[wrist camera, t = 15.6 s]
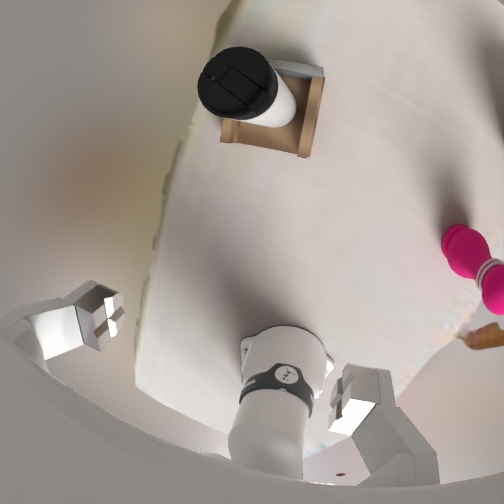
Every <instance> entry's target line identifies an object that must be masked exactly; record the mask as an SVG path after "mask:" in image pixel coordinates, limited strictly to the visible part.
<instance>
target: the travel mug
mask: <svg viewBox="0 0 504 504" xmlns="http://www.w3.org/2000/svg"><path fill="white" fill-rule="evenodd" d="M198 95H199V98H200V100H201V102H202V104H203V105H204V107H205V108H206V109H207V110H208V111H210V112H211V113H213V114H214V115H217V116H220V117H224V118H229V119H232V120H237V121H242V122H247V123H252V124H257V125H262V126H266V127H271V128H279V127H283V126H285V125H287V124H289V123H290V122H291V121H292V120H293V118H294V117H295V115H296V112H297V102H296V99H295V97H294V95H293V94H292V93H291V91H290V90H289V88H288V87H287V86H286V84H285V83H284V81H283V80H282V79H281V77H280V76H279V75H278V73H277V72H276V71H275V69H274V68H273V67H272V65H271V64H270V63H268V61H267V60H266V59H265V57H264V56H262V55H261V54H260V53H259V52H257V51H255V50H253V49H250V48H247V47H231V48H228V49H225V50H223V51H221V52H220V53H218V54H217V55H216V56H215V57H213V58H212V59H211V60H210V61H209V62H208V63H207V64H206V66H205V67H204V69H203V73H201V75H200V77H199V80H198Z"/></svg>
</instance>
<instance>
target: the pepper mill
mask: <svg viewBox="0 0 504 504" xmlns="http://www.w3.org/2000/svg"><path fill="white" fill-rule="evenodd" d="M442 251H443V254H444V256H445V257H446V258H447V259H448V263H449V265H450V267H451V269H452V270H453V271H454V272H455V273H456V274H458V275H460V276H462V277H464V278H470V279H474V280H475V281H476V287H477V289H478V291H479V292H480V293H481V294H482V299H483V303H484V304H485V306H486V307H487V309H488V310H489V311H491V312H492V313H494V314H497V315H504V263H503V262H502V261H501V260H499V259H497V258H492V257H491V255H490V251H489V247H488V244H487V242H486V240H485V239H484V237H483V236H482V235H481V234H480V233H479V232H478V231H476V230H473V229H469V228H467V227H466V226H464V225H454V226H452V227H451V228H449V229H448V230H447V231H446V233H445V235H444V236H443V239H442Z"/></svg>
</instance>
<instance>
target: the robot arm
mask: <svg viewBox="0 0 504 504" xmlns="http://www.w3.org/2000/svg"><path fill="white" fill-rule="evenodd" d="M123 303H124V301H123V295H122V294H121V293H119V292H116V291H114V290H112V289H109V288H108V287H106V286H103V285H101V284H98V283H96V282H94V281H92V280H91V281H87V282H86V283H84V284H83V285H81V286H80V287H79V288H77V289H76V290H74V291H73V292H72V293H70V294H69V295H68V296H66V297H65V298H64V299H62V298H56V299H52V300H47V301H42V302H37V303H32V304H27V305H23V306H17V307H13V308H11V309H9V310H8V311H6V312H5V313H4V314H2V315H1V316H0V504H504V472H501V473H497V474H493V475H489V476H484V477H480V478H475V479H469V480H464V481H458V482H451V483H444V484H440V478H439V469H438V460H437V453H436V452H435V450H434V449H433V448H432V447H431V445H430V444H429V443H428V442H427V440H426V439H425V438H424V437H423V435H422V434H421V433H420V432H419V430H418V429H417V428H416V427H415V426H414V424H413V423H412V422H411V421H410V419H409V418H408V417H407V416H406V415H405V413H404V412H403V411H402V410H401V408H400V407H396V405H395V398H394V391H393V385H392V379H391V373H390V371H389V370H385V369H379V368H372V367H366V366H361V365H356V364H351V363H348V364H347V365H346V366H345V368H344V369H343V377H342V378H340V379H338V380H337V382H336V384H335V386H334V388H333V391H332V395H331V402H330V405H331V407H332V408H333V410H332V412H331V413H330V415H329V427H328V431H333V432H339V433H345V434H351V437H352V439H353V440H354V442H355V444H356V446H357V448H358V450H359V452H360V454H361V456H362V458H363V460H364V462H365V464H366V466H367V468H368V470H369V472H370V474H371V476H369V477H368V478H367V479H365V480H364V481H362V482H361V483H360V484H358V485H357V486H347V485H336V484H327V483H318V482H311V481H305V480H303V451H304V444H305V437H306V430H307V424H308V419H309V418H310V416H311V414H312V409H313V406H314V400H315V398H318V397H319V395H320V393H322V391H323V387H324V381H325V377H326V376H327V375H328V374H329V373H330V372H331V371H332V369H333V367H334V362H333V360H332V359H331V358H329V357H328V356H327V355H326V353H325V350H324V348H323V345H322V344H321V342H320V341H319V340H318V339H317V338H316V337H315V336H314V335H313V334H311V333H309V332H308V331H306V330H303V329H300V328H297V327H292V326H277V327H272V328H269V329H267V330H265V331H263V332H261V333H260V334H258V335H257V336H254V337H248V338H245V339H243V340H242V341H241V360H242V369H241V373H242V377H243V389H242V391H241V395H240V400H239V404H240V407H239V409H238V412H237V415H236V417H235V420H234V423H233V425H232V428H231V431H230V433H229V438H228V448H229V452H230V455H231V459H232V460H230V459H227V458H226V457H223V456H221V455H219V454H215V453H208V452H204V453H197V452H194V451H192V450H189V449H186V448H184V447H181V446H179V445H176V444H174V443H171V442H169V441H167V440H164V439H162V438H160V437H158V436H155V435H153V434H151V433H149V432H147V431H145V430H143V429H141V428H139V427H136V426H134V425H133V424H131V423H129V422H126V421H125V420H123V419H121V418H119V417H117V416H115V415H114V414H112V413H110V412H108V411H107V410H105V409H103V408H101V407H100V406H98V405H96V404H95V403H93V402H91V401H89V400H88V399H86V398H85V397H83V396H82V395H80V394H79V393H77V392H76V391H74V390H73V389H71V388H70V387H68V386H67V385H65V384H64V383H62V382H61V381H59V380H58V379H57V378H55V377H54V376H53V375H51V374H50V373H49V370H48V366H47V364H46V362H45V360H46V359H48V358H51V357H53V356H56V355H59V354H61V353H63V352H66V351H69V350H71V349H74V348H76V347H79V346H81V345H83V344H86V345H88V346H90V347H92V348H94V349H96V350H98V351H99V352H101V351H102V350H103V349H104V348H105V347H106V346H107V345H108V344H109V343H110V342H111V336H114V335H118V333H119V332H120V331H121V330H122V328H123V326H124V323H125V312H124V310H123V309H122V307H121V306H122V304H123ZM246 348H247V349H246Z"/></svg>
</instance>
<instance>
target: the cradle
mask: <svg viewBox="0 0 504 504" xmlns="http://www.w3.org/2000/svg"><path fill="white" fill-rule="evenodd" d="M265 59H266V60H267V61H268V63H270V64H271V65H272V67H273V68H274V69H275V71H276V72H277V73H278V75H279V76H280V77H281V79H282V80H283V81H284V83H285V84H286V86H287V87H288V88H289V90H290V91H291V93H292V94H293V95H294V97H295V99H296V102H297V112H296V115H295V117H294V118H293V120H292V121H291V122H290V123H289V124H287V125H285V126H283V127H279V128H271V127H266V126H262V125H257V124H252V123H247V122H242V121H237V120H232V119H229V118H223V124H222V130H221V136H220V142H224V143H242V144H248V145H254V146H259V147H264V148H270V149H275V150H279V151H284V152H289V153H294V154H297V156H298V157H302V158H307V157H310V153H311V148H312V143H313V138H314V133H315V128H316V123H317V118H318V113H319V108H320V103H321V97H322V92H323V86H324V81H325V77H323V67H318V66H313V65H308V64H302V63H296V62H290V61H283V60H276V59H267V58H265Z"/></svg>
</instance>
